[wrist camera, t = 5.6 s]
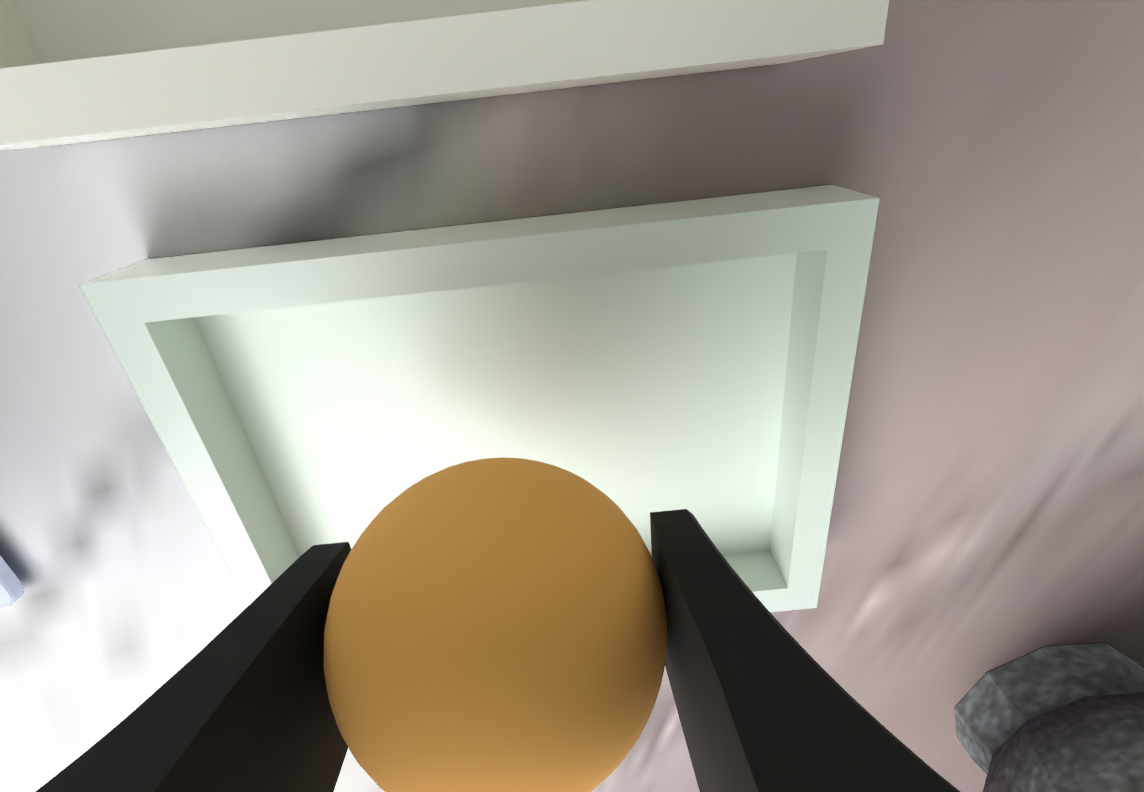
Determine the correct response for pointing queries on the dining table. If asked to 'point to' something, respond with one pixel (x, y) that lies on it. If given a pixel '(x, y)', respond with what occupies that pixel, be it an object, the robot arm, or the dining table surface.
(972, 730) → the mortar and pestle
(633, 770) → the dining table surface
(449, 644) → the ball
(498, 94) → the cream open box
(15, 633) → the dining table surface
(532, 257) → the tray
